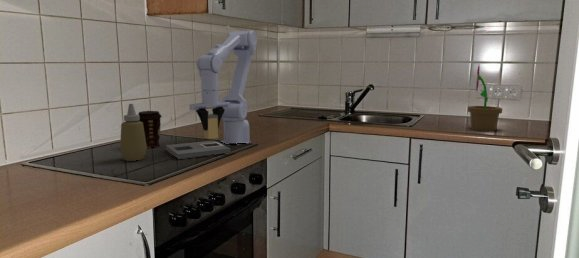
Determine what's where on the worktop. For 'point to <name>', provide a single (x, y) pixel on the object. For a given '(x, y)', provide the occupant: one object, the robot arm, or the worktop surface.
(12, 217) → the worktop surface
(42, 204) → the worktop surface
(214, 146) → the socket panel
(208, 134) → the plug
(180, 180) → the worktop surface
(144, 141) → the squeeze bottle
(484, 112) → the flowerpot
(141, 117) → the coffee cup
